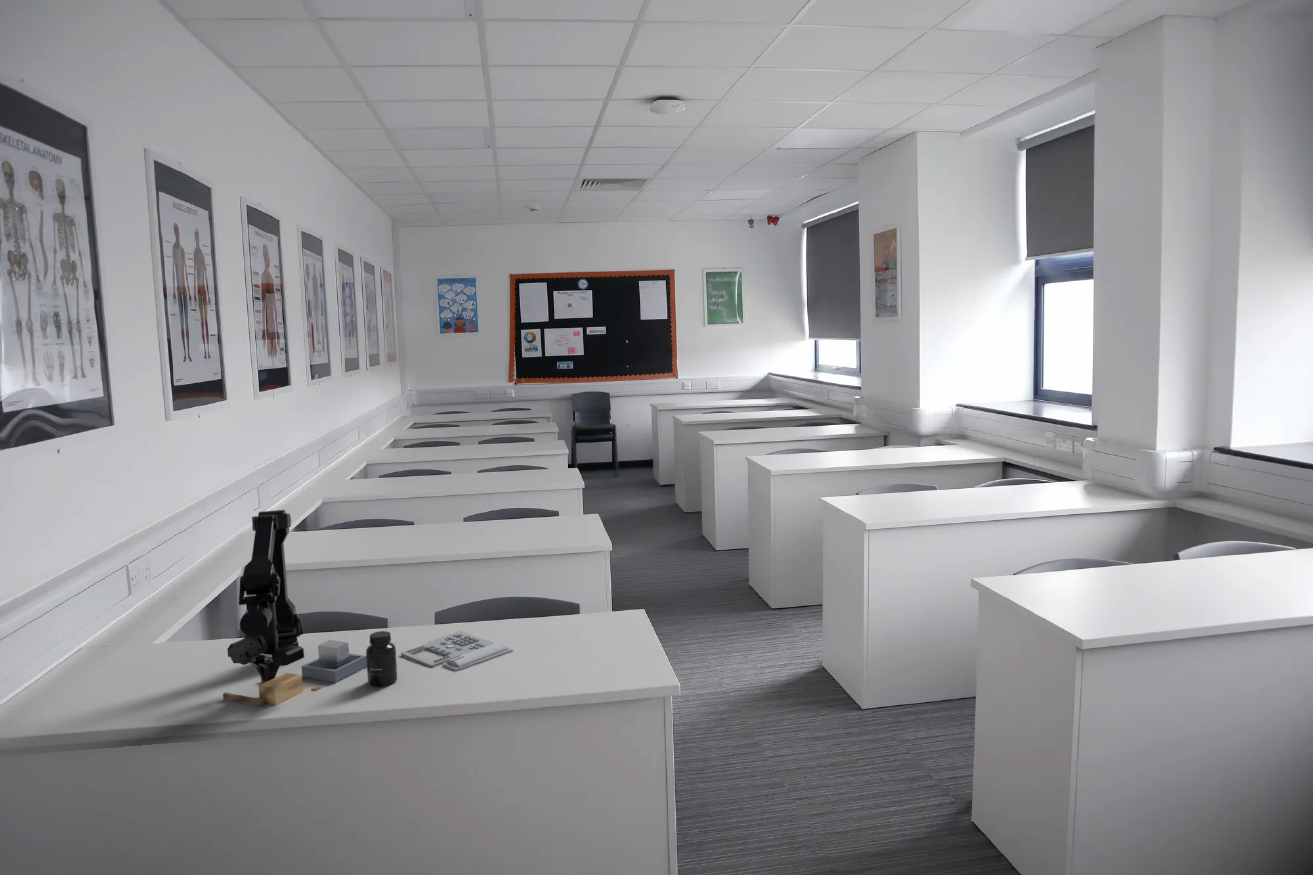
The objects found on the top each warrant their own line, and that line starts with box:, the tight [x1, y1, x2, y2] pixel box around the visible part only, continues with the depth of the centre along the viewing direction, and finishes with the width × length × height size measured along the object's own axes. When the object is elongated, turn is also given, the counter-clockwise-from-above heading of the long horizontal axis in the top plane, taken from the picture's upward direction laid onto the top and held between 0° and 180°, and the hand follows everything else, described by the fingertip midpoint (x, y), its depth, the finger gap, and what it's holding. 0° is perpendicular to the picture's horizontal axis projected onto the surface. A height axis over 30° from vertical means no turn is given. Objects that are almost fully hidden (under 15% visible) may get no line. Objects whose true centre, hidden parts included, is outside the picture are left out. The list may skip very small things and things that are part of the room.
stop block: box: [317, 639, 350, 670], centre depth 213 cm, size 6×4×7 cm, turn 66°
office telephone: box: [400, 630, 513, 672], centre depth 224 cm, size 23×3×20 cm
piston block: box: [257, 672, 304, 706], centre depth 199 cm, size 5×8×4 cm, turn 157°
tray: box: [300, 652, 367, 684], centre depth 214 cm, size 11×11×3 cm
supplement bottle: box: [365, 630, 398, 688], centre depth 206 cm, size 7×7×12 cm
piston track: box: [222, 676, 322, 708], centre depth 201 cm, size 17×13×2 cm
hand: (268, 686), depth 201 cm, fingers closed
